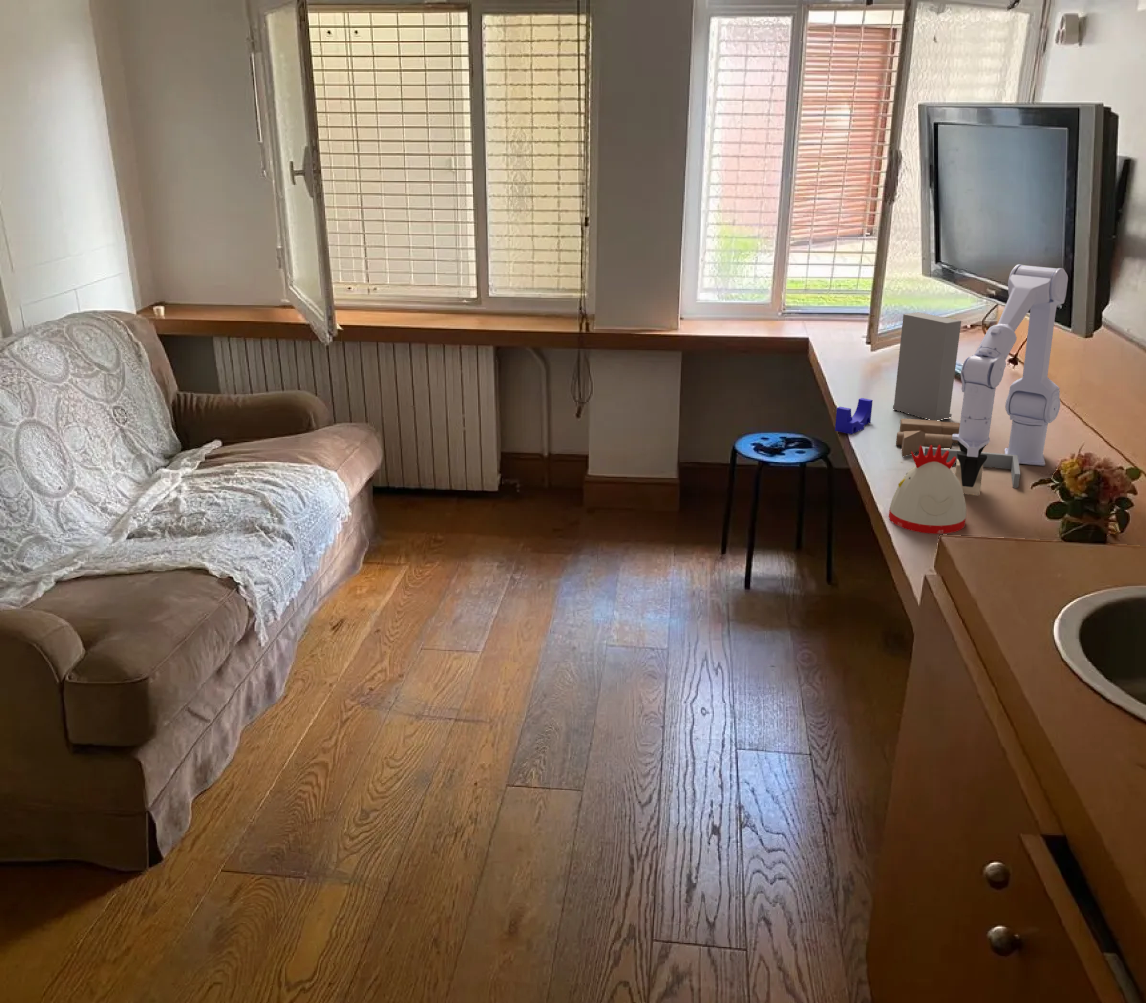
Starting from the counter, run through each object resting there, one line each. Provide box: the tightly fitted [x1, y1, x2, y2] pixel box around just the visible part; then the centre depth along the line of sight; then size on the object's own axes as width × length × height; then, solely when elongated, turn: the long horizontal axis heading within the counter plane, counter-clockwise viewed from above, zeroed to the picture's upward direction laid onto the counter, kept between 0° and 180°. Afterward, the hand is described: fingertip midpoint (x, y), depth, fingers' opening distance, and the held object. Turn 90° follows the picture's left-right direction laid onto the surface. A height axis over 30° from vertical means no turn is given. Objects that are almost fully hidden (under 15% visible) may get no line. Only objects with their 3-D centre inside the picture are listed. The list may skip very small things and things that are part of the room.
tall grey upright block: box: [892, 311, 962, 421], centre depth 257 cm, size 14×6×25 cm, turn 31°
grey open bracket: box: [922, 447, 1021, 489], centre depth 219 cm, size 13×20×3 cm, turn 70°
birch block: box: [954, 459, 984, 496], centre depth 208 cm, size 4×5×6 cm
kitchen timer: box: [888, 445, 967, 535], centre depth 192 cm, size 14×14×15 cm
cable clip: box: [834, 397, 873, 435], centre depth 251 cm, size 12×4×6 cm, turn 136°
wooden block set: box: [895, 418, 960, 458], centre depth 235 cm, size 17×6×18 cm
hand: (967, 479), depth 209 cm, fingers open, 7 cm apart
